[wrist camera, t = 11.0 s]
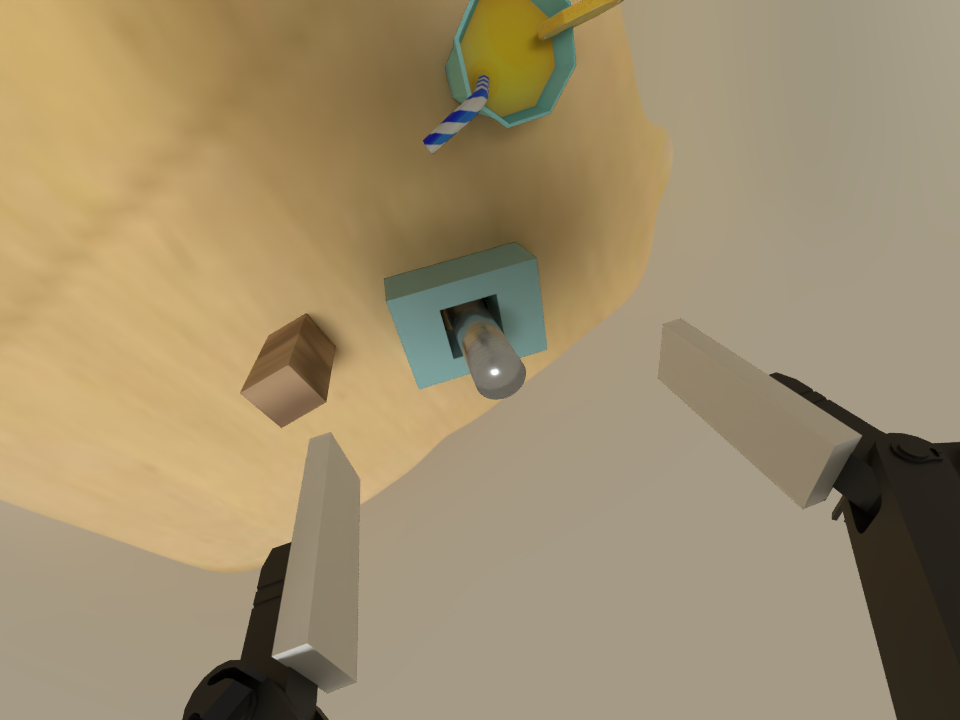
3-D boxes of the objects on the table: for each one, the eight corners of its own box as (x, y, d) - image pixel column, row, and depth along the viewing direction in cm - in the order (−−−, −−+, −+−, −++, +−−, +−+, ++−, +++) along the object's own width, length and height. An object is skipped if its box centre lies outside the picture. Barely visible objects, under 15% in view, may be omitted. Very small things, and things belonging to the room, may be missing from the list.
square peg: (268, 335, 38) (239, 393, 30) (306, 313, 38) (287, 364, 29) (299, 367, 40) (281, 427, 32) (335, 346, 40) (326, 402, 32)
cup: (435, 180, 34) (473, 209, 22) (372, 98, 30) (374, 75, 18) (558, 67, 32) (676, 27, 20) (508, -39, 28) (617, -173, 16)
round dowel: (439, 292, 40) (470, 364, 27) (475, 282, 40) (522, 348, 28) (448, 325, 42) (480, 405, 30) (482, 315, 43) (528, 390, 30)
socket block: (384, 278, 38) (386, 301, 33) (515, 241, 39) (536, 258, 34) (413, 359, 43) (418, 389, 38) (527, 324, 45) (547, 349, 40)
